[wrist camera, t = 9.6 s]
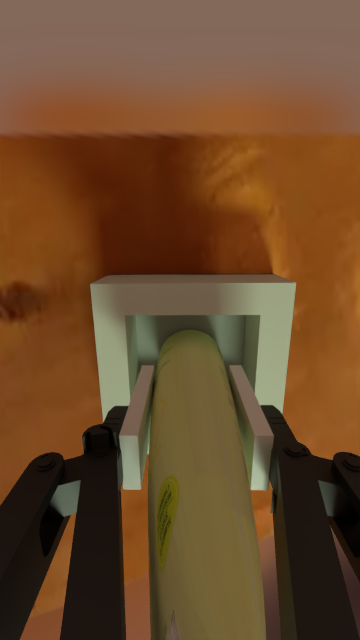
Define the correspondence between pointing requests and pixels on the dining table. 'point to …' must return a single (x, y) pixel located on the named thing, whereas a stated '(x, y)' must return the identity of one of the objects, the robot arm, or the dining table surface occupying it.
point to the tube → (200, 502)
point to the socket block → (192, 326)
